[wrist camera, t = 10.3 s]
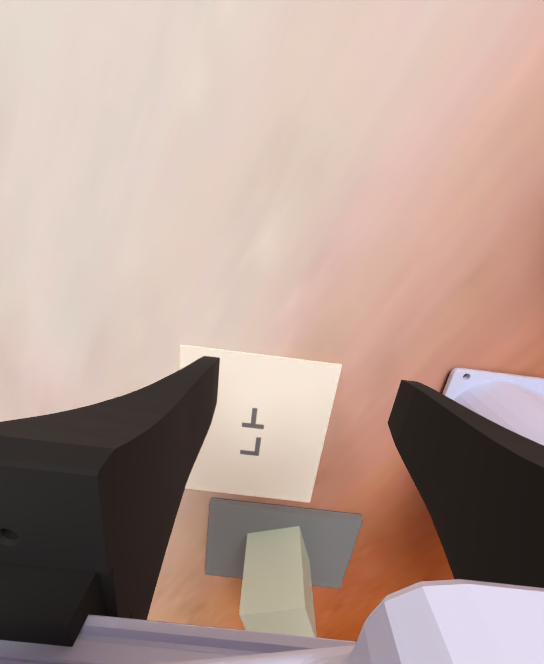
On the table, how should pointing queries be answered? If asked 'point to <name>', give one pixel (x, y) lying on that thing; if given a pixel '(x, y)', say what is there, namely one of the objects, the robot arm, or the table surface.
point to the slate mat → (248, 517)
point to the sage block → (277, 584)
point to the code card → (264, 424)
